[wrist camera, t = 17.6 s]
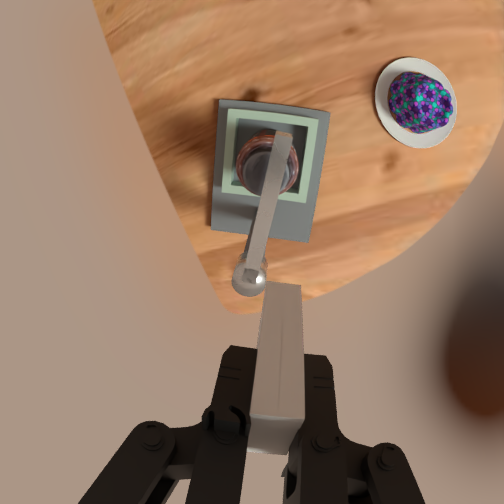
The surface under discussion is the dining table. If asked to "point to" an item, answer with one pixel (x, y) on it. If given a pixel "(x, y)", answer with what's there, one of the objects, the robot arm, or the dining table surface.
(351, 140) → the dining table surface
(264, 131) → the supplement bottle
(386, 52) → the dining table surface
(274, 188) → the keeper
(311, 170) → the socket base
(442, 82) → the pudding
